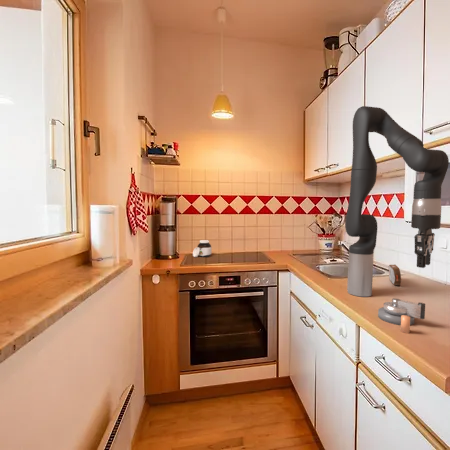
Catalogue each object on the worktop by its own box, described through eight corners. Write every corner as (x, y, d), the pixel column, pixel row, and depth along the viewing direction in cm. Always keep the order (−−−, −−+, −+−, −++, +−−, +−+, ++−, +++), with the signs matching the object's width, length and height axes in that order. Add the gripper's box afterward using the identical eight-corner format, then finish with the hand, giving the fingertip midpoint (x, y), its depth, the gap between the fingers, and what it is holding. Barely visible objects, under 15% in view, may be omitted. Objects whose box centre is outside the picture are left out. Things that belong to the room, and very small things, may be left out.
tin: (401, 287, 124) (402, 269, 123) (393, 287, 125) (394, 268, 125) (394, 279, 138) (395, 263, 137) (387, 279, 139) (388, 262, 139)
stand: (371, 313, 94) (372, 300, 94) (400, 312, 95) (400, 299, 94) (401, 333, 79) (402, 318, 79) (435, 332, 80) (436, 317, 79)
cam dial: (380, 311, 90) (380, 297, 89) (387, 306, 94) (388, 293, 94) (421, 322, 81) (422, 307, 81) (427, 315, 86) (428, 301, 86)
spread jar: (213, 256, 201) (213, 240, 200) (204, 258, 192) (204, 242, 191) (199, 254, 207) (199, 239, 207) (190, 257, 198) (190, 241, 197)
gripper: (418, 212, 95) (415, 261, 96) (405, 213, 85) (403, 267, 86) (445, 213, 89) (442, 264, 90) (435, 214, 80) (432, 271, 81)
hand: (423, 265), depth 88 cm, fingers open, 5 cm apart
